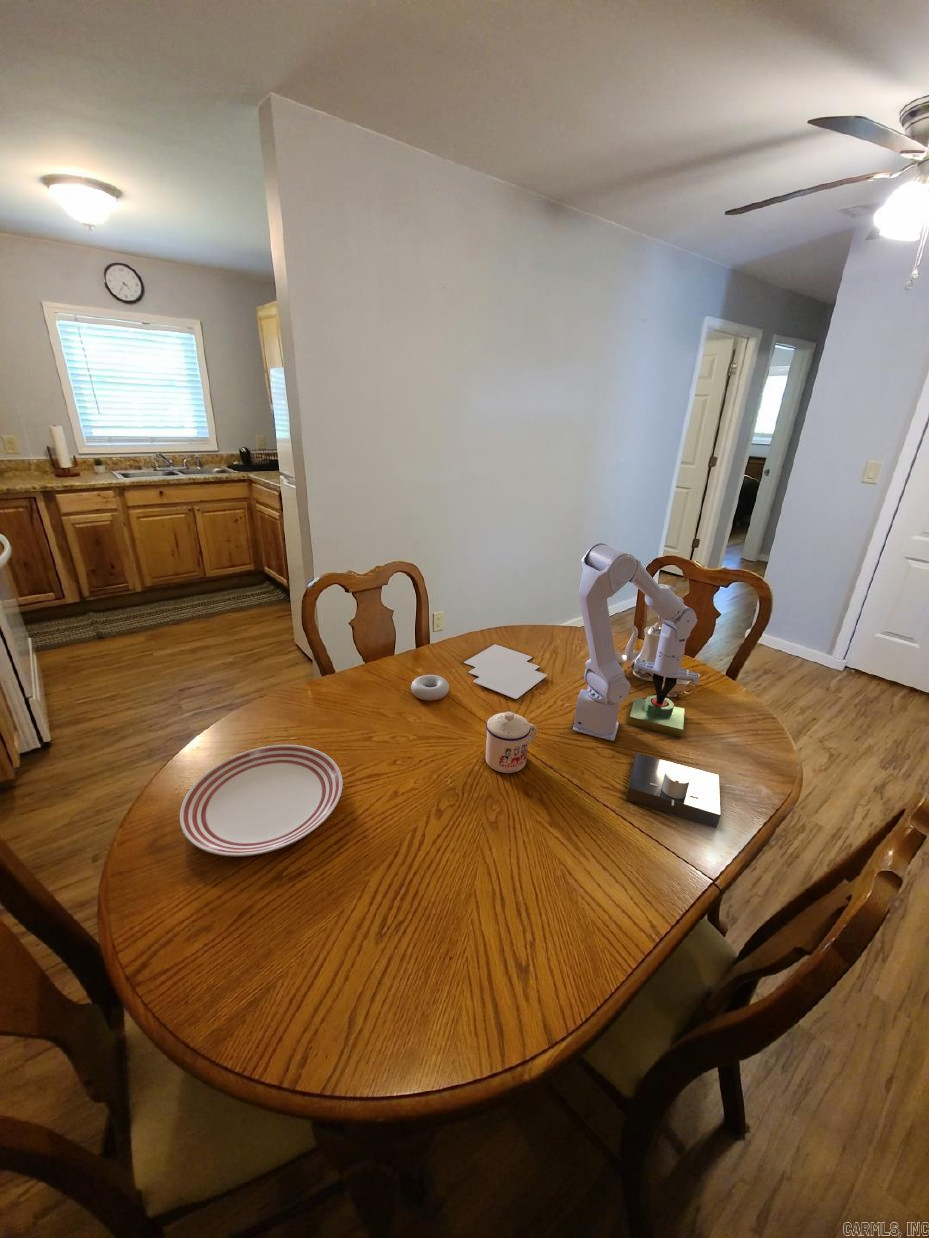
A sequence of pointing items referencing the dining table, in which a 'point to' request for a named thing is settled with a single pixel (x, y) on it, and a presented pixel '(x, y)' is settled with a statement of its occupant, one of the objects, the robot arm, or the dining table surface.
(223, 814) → the dinner plate
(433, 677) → the donut
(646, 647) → the chinaware
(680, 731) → the block
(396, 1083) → the dining table surface
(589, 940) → the dining table surface
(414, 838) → the dining table surface
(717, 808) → the hob panel
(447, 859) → the dining table surface
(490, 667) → the paper stack
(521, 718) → the teacup with lid
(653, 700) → the button
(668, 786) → the hob knob
